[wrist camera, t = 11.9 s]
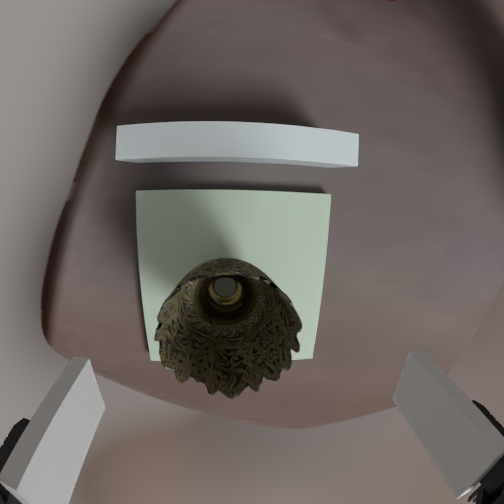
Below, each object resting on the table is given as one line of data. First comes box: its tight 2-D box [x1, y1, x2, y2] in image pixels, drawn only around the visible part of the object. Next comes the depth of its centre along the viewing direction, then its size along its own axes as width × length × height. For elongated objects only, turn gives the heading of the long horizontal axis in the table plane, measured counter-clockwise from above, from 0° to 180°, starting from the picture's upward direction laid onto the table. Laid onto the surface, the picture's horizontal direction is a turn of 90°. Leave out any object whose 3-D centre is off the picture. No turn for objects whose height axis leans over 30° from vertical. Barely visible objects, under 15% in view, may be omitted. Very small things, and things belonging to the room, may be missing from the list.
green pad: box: [136, 189, 331, 361], centre depth 22 cm, size 14×14×1 cm
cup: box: [154, 258, 302, 399], centre depth 17 cm, size 8×7×8 cm
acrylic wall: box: [116, 121, 359, 168], centre depth 17 cm, size 14×2×5 cm, turn 88°
